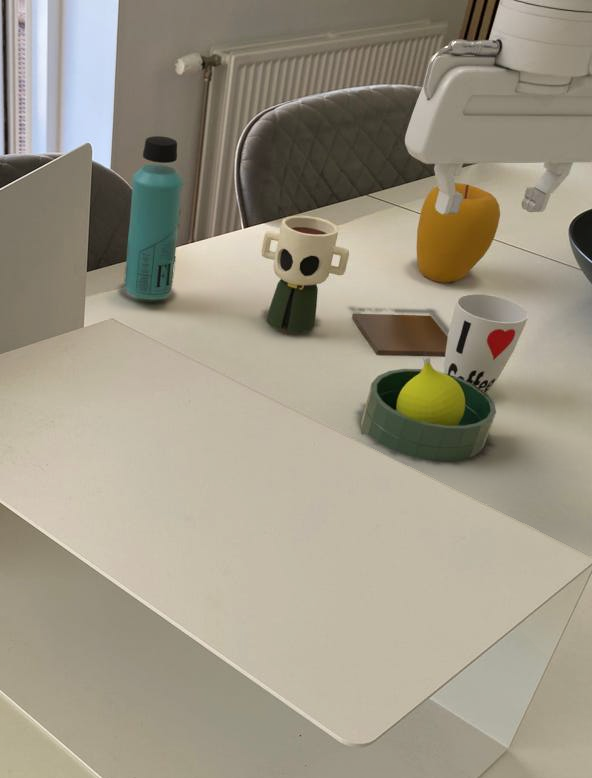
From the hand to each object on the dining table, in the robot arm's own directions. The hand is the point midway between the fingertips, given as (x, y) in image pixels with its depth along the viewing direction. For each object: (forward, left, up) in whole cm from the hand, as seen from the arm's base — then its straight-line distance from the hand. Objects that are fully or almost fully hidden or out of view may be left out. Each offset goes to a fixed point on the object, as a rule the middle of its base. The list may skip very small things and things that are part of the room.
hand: (489, 211), depth 93 cm
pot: (-1, -1, -25) cm, 25 cm away
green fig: (-1, -1, -24) cm, 24 cm away
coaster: (-8, -27, -25) cm, 37 cm away
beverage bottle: (+25, -36, -25) cm, 50 cm away
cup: (-11, -13, -25) cm, 30 cm away
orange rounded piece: (-21, -48, -25) cm, 58 cm away
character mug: (+7, -29, -25) cm, 39 cm away
